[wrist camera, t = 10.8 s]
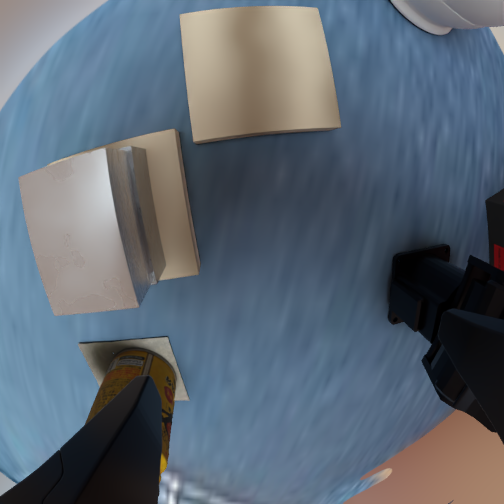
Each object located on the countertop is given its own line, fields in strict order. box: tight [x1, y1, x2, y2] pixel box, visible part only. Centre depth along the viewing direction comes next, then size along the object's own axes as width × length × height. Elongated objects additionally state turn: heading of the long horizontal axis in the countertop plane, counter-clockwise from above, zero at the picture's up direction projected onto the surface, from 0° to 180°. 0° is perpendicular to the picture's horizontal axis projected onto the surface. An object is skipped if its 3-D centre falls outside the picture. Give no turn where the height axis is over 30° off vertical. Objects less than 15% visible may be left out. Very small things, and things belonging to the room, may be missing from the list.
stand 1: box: [47, 129, 201, 280], centre depth 17 cm, size 9×9×2 cm
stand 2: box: [180, 6, 341, 144], centre depth 15 cm, size 9×9×2 cm
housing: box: [19, 146, 166, 316], centre depth 13 cm, size 5×7×6 cm
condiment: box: [78, 337, 190, 496], centre depth 16 cm, size 7×8×12 cm
